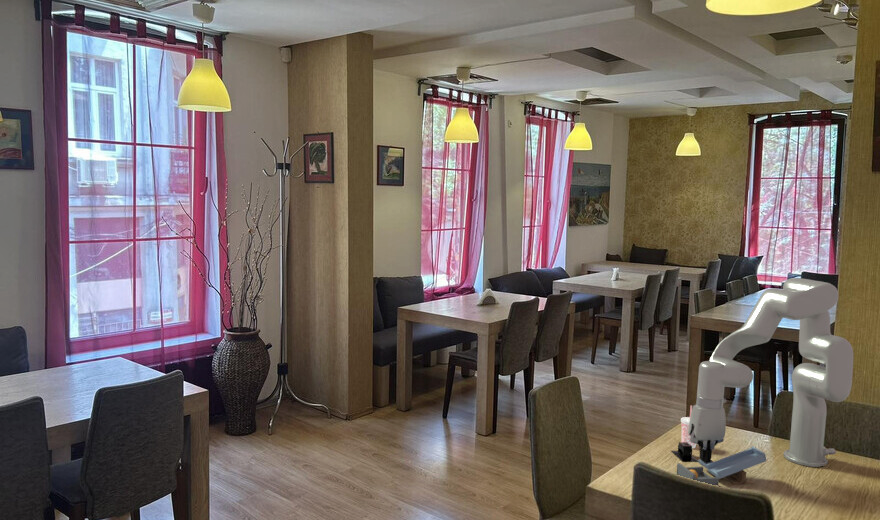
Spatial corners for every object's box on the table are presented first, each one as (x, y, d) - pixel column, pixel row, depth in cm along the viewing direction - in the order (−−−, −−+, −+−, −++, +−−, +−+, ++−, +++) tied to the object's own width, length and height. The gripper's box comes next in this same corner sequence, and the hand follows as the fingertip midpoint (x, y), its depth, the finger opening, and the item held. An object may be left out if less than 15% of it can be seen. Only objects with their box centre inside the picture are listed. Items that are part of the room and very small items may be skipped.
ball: (696, 470, 200) (688, 465, 200) (702, 475, 197) (694, 470, 197) (690, 479, 200) (682, 474, 200) (696, 484, 197) (688, 479, 197)
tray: (701, 474, 204) (702, 462, 204) (718, 486, 196) (719, 473, 195) (676, 476, 202) (677, 463, 202) (692, 488, 194) (693, 474, 194)
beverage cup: (677, 441, 232) (679, 402, 230) (695, 443, 231) (698, 403, 229) (681, 448, 226) (683, 407, 224) (700, 449, 225) (703, 409, 223)
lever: (742, 447, 211) (740, 439, 210) (766, 461, 200) (765, 453, 199) (697, 463, 208) (695, 455, 208) (719, 478, 197) (717, 470, 197)
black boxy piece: (703, 465, 213) (704, 451, 212) (681, 465, 212) (682, 451, 212) (686, 450, 225) (687, 437, 225) (665, 450, 225) (666, 437, 224)
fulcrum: (737, 473, 206) (737, 462, 205) (752, 483, 199) (753, 471, 198) (719, 474, 204) (720, 463, 204) (734, 484, 197) (735, 472, 197)
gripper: (724, 398, 210) (719, 455, 211) (680, 399, 207) (676, 457, 208) (739, 405, 202) (734, 464, 204) (694, 407, 199) (689, 466, 201)
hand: (705, 460), depth 206 cm, fingers closed
